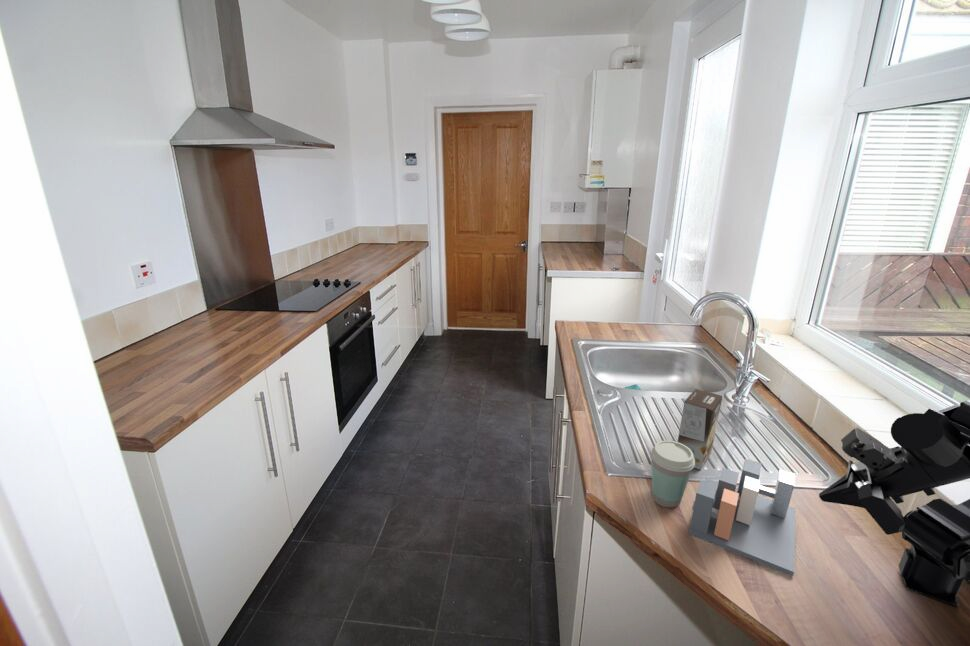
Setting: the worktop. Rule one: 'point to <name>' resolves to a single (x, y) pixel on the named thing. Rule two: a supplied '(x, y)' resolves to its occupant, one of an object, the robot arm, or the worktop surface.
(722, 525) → the terracotta key
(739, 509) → the ivory key
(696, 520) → the grey slotted base
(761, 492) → the aluminium key
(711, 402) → the coffee box
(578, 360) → the worktop surface
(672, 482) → the coffee cup
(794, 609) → the worktop surface
